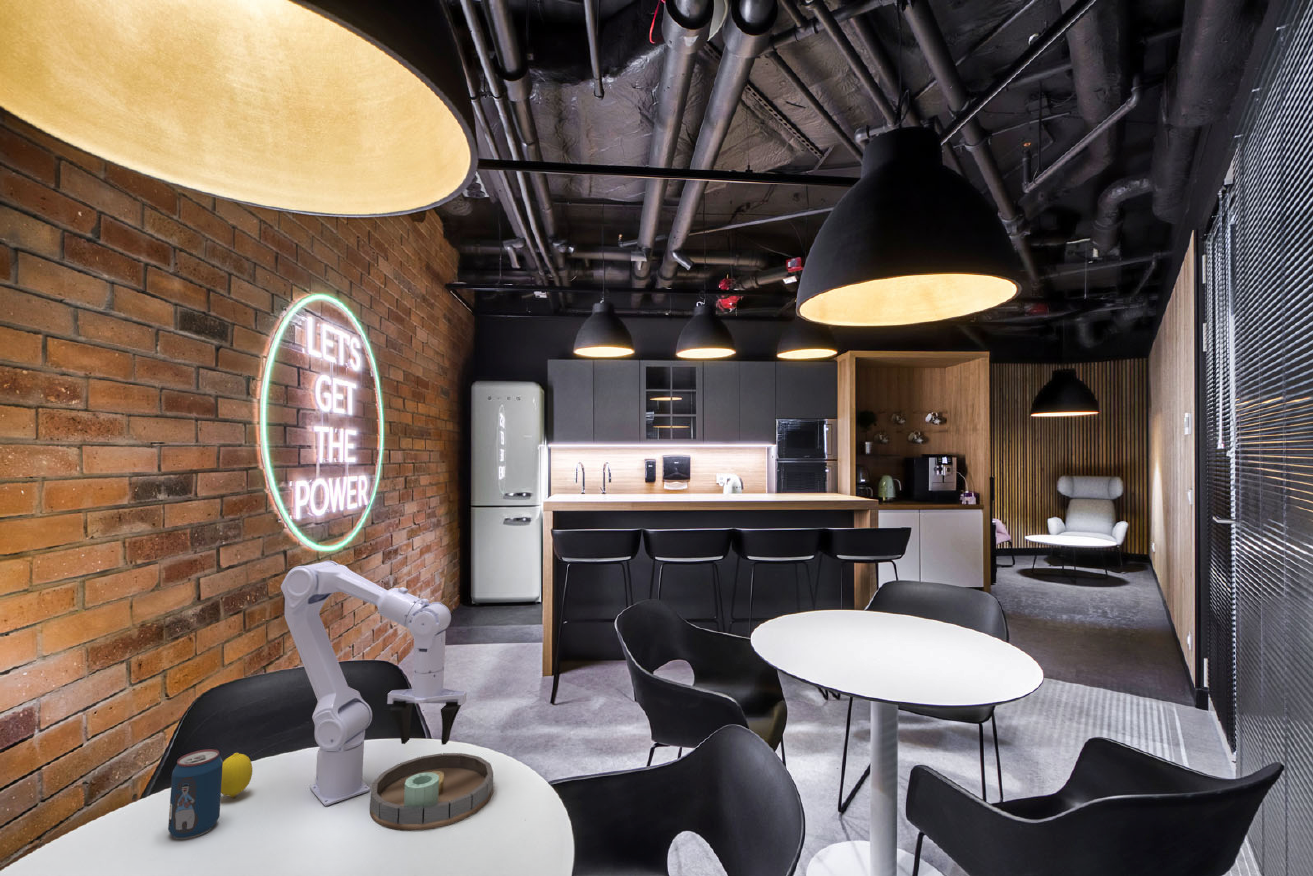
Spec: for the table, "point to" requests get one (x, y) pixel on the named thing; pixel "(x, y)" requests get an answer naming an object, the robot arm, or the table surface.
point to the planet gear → (421, 789)
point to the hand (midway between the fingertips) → (425, 742)
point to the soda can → (195, 794)
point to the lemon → (235, 774)
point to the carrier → (459, 791)
